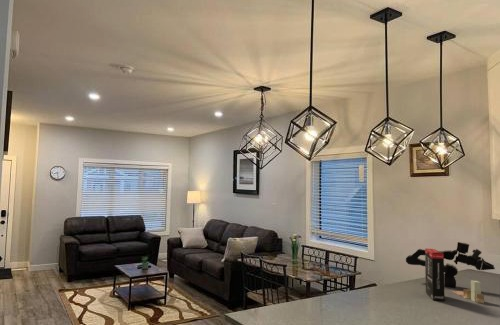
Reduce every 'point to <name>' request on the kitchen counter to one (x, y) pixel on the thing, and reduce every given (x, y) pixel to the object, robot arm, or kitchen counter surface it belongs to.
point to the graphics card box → (434, 274)
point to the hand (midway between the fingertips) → (494, 267)
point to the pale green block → (475, 289)
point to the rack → (478, 296)
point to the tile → (459, 292)
